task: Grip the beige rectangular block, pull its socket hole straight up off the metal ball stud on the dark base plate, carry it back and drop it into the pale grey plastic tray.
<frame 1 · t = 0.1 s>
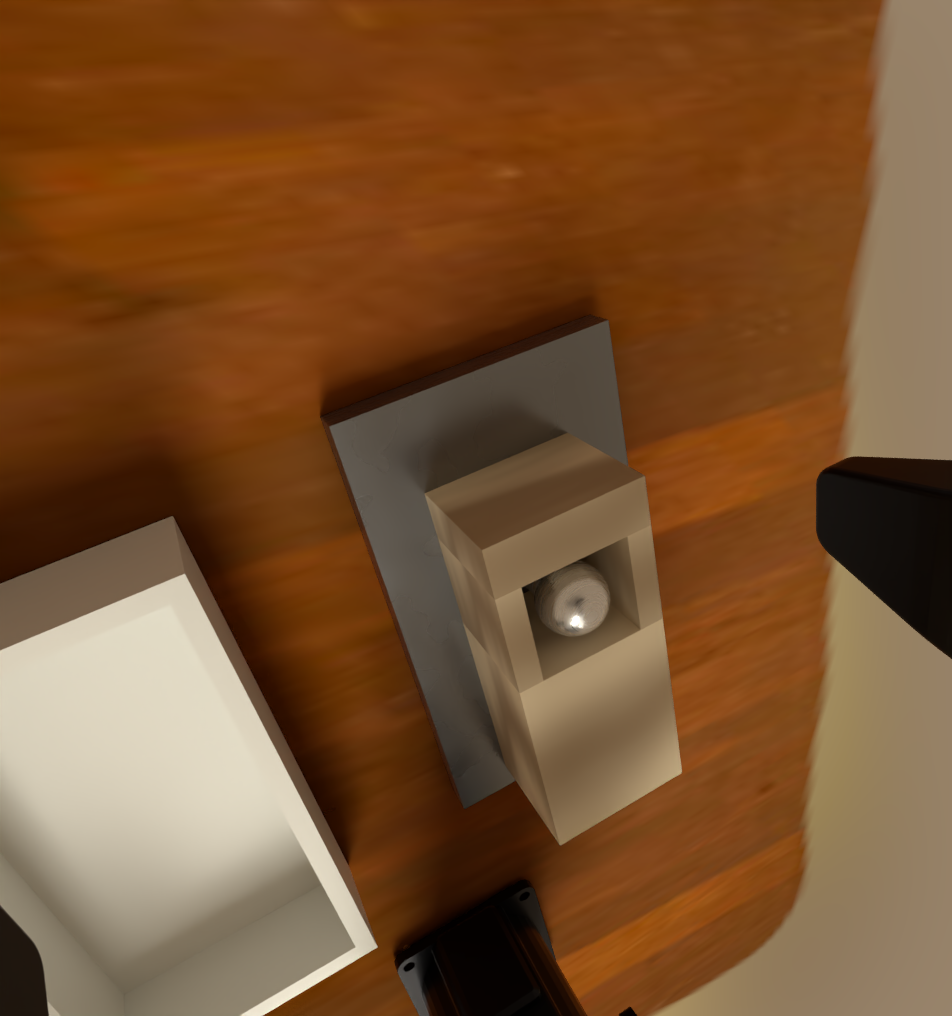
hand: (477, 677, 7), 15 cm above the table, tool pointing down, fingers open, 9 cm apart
stud base: (514, 577, 26), on the table
beige rectangular block: (533, 613, 26), point 1 cm above the table, touching stud base
tray: (139, 785, 23), on the table
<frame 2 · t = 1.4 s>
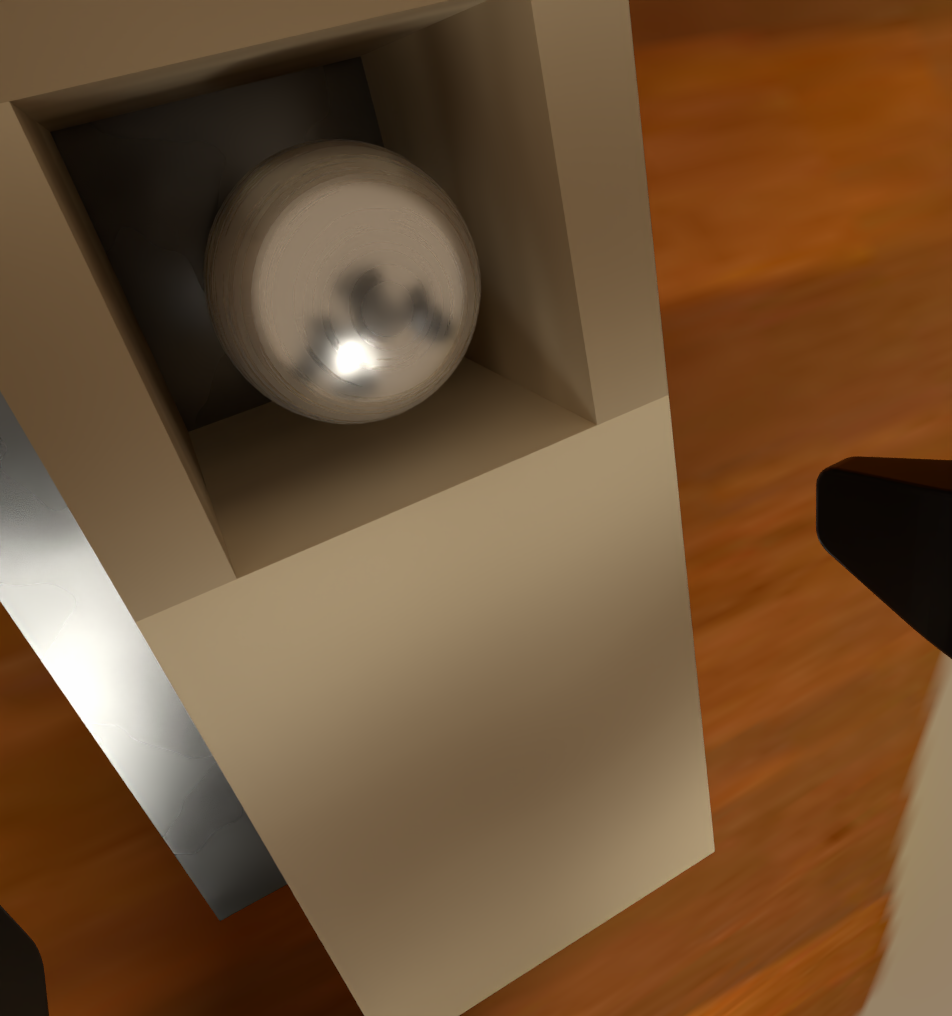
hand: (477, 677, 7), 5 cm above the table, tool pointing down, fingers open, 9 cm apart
stud base: (300, 367, 10), on the table
beige rectangular block: (341, 452, 10), point 1 cm above the table, touching stud base
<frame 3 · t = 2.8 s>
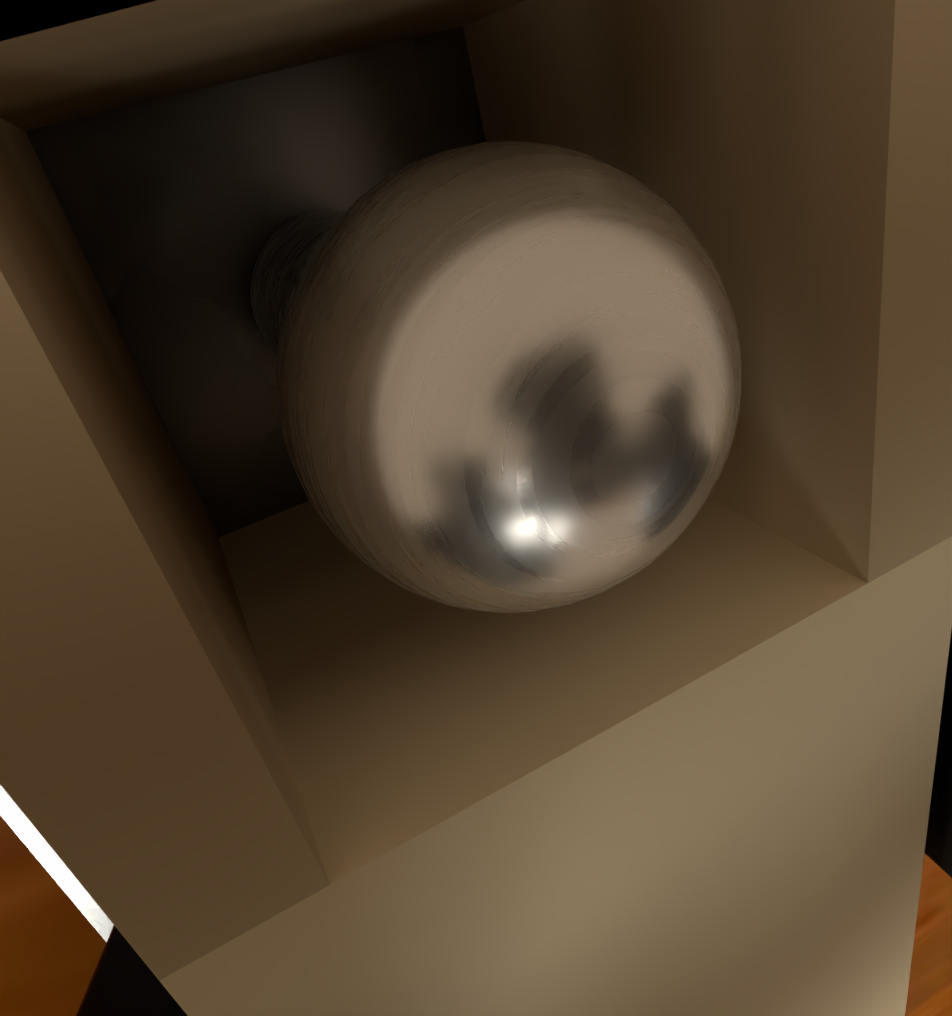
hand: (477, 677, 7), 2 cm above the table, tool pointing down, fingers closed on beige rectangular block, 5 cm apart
stud base: (359, 437, 8), on the table
beige rectangular block: (415, 551, 8), point 1 cm above the table, touching gripper, stud base
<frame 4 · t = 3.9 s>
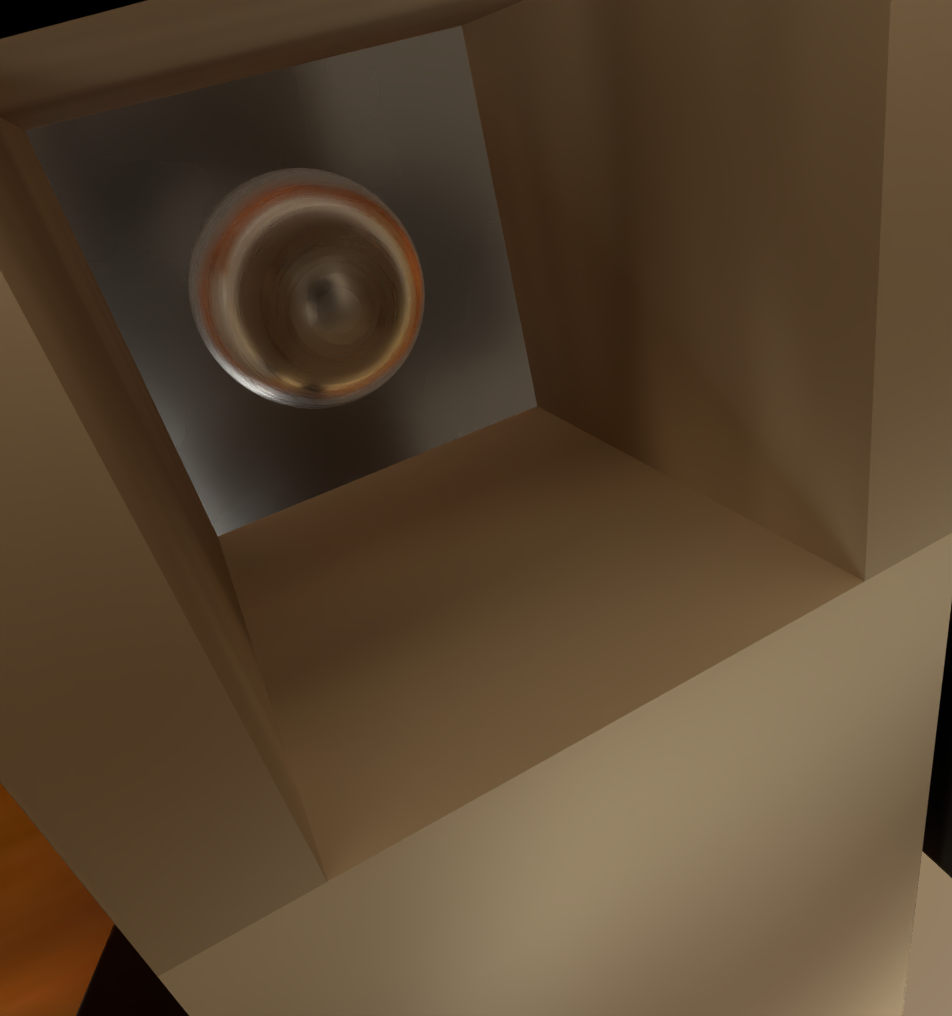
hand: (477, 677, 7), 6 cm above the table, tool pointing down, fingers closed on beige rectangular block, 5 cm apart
stud base: (282, 364, 12), on the table
beige rectangular block: (414, 550, 8), point 5 cm above the table, touching gripper
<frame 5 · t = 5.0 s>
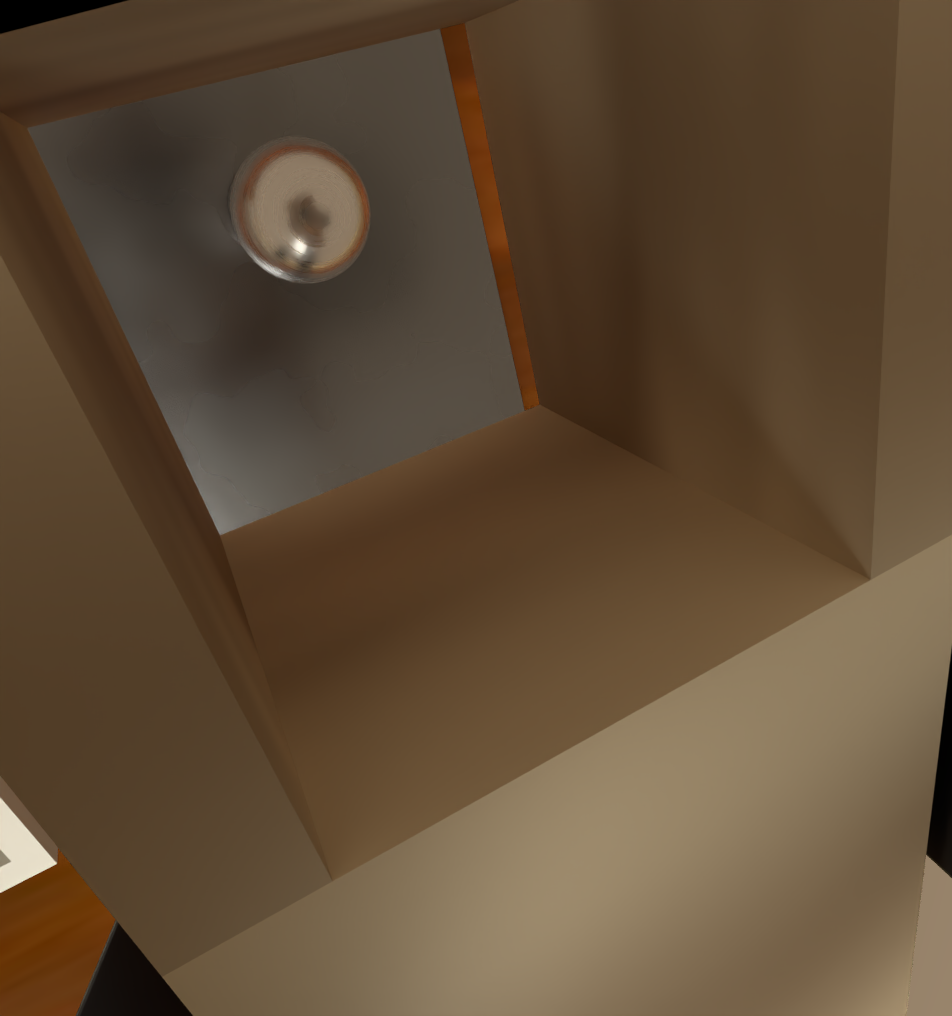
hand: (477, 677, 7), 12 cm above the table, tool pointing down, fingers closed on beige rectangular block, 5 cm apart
stud base: (284, 282, 16), on the table
beige rectangular block: (416, 549, 8), point 11 cm above the table, touching gripper
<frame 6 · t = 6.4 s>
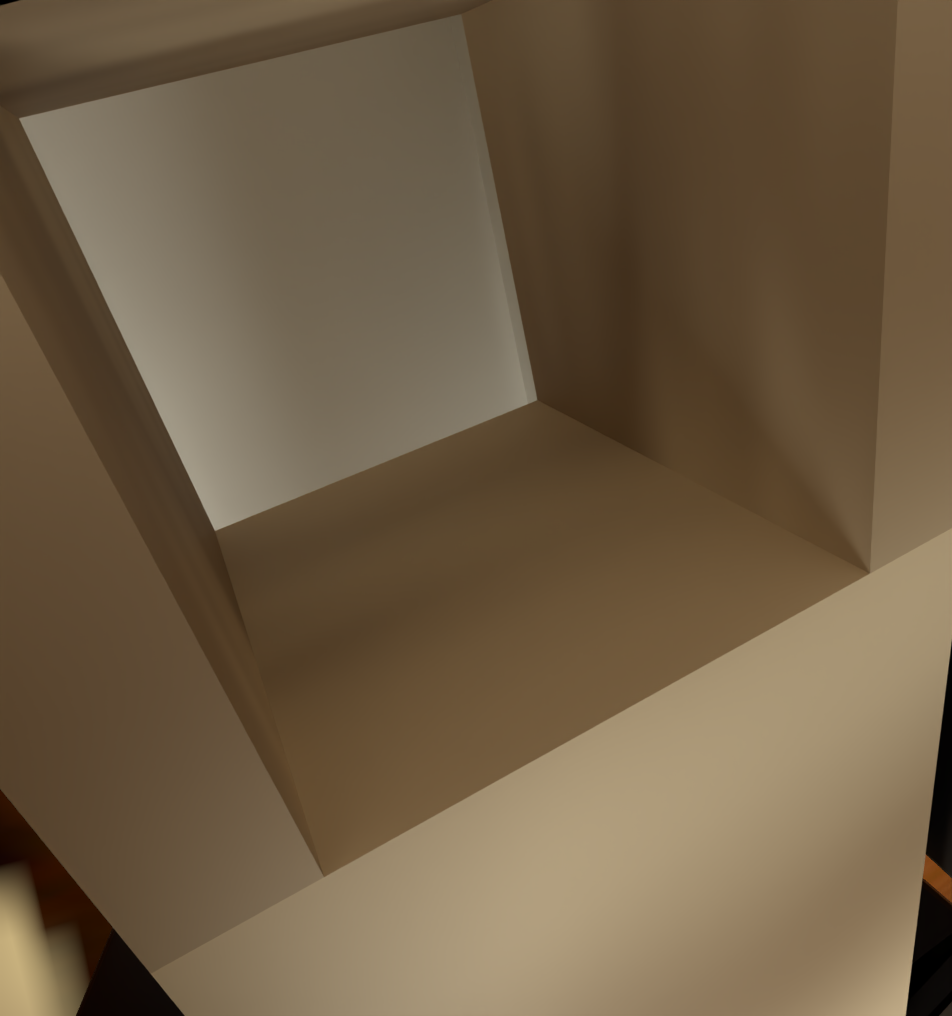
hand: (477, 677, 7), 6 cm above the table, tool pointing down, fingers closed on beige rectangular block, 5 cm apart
beige rectangular block: (413, 545, 8), point 5 cm above the table, touching gripper
tray: (297, 411, 12), on the table
when the fingers open (4 cm above the table, at t = 7.5 s): beige rectangular block drops 3 cm, resting on tray.
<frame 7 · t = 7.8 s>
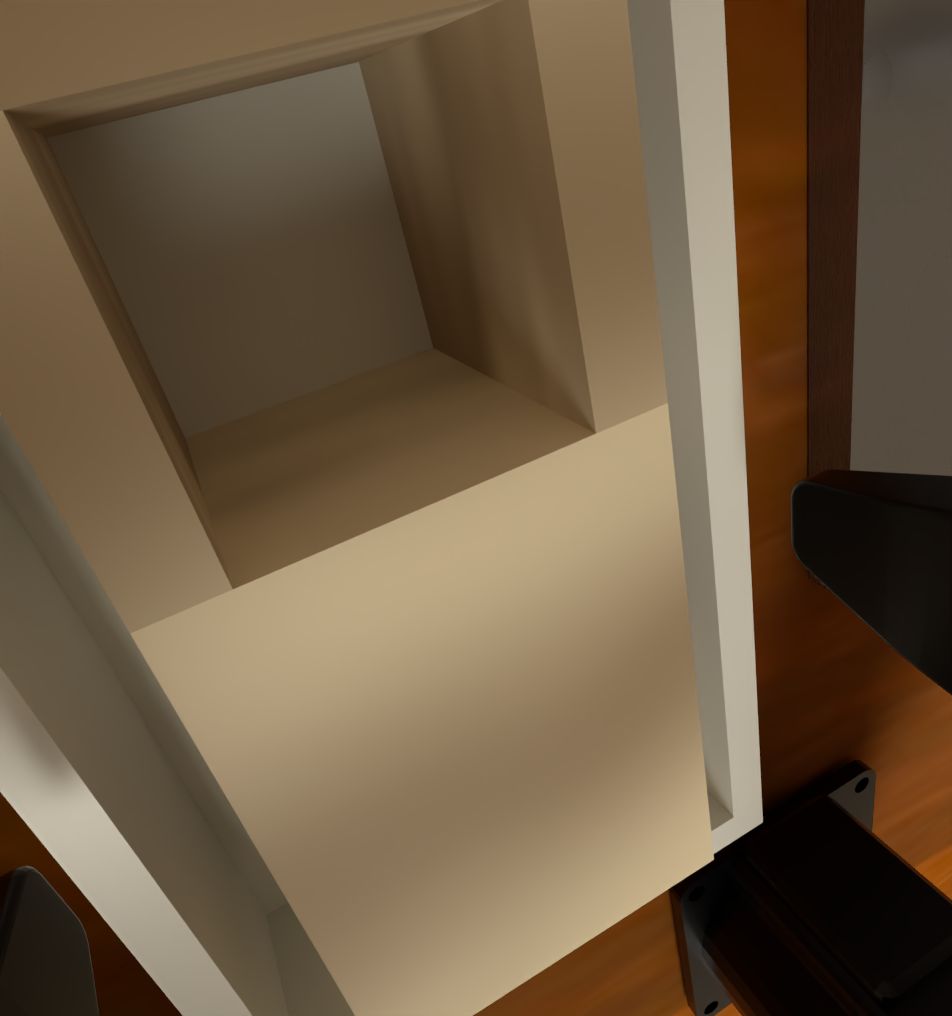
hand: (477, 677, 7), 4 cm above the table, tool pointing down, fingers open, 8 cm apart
beige rectangular block: (339, 458, 10), point 1 cm above the table, touching tray
tray: (328, 447, 11), on the table
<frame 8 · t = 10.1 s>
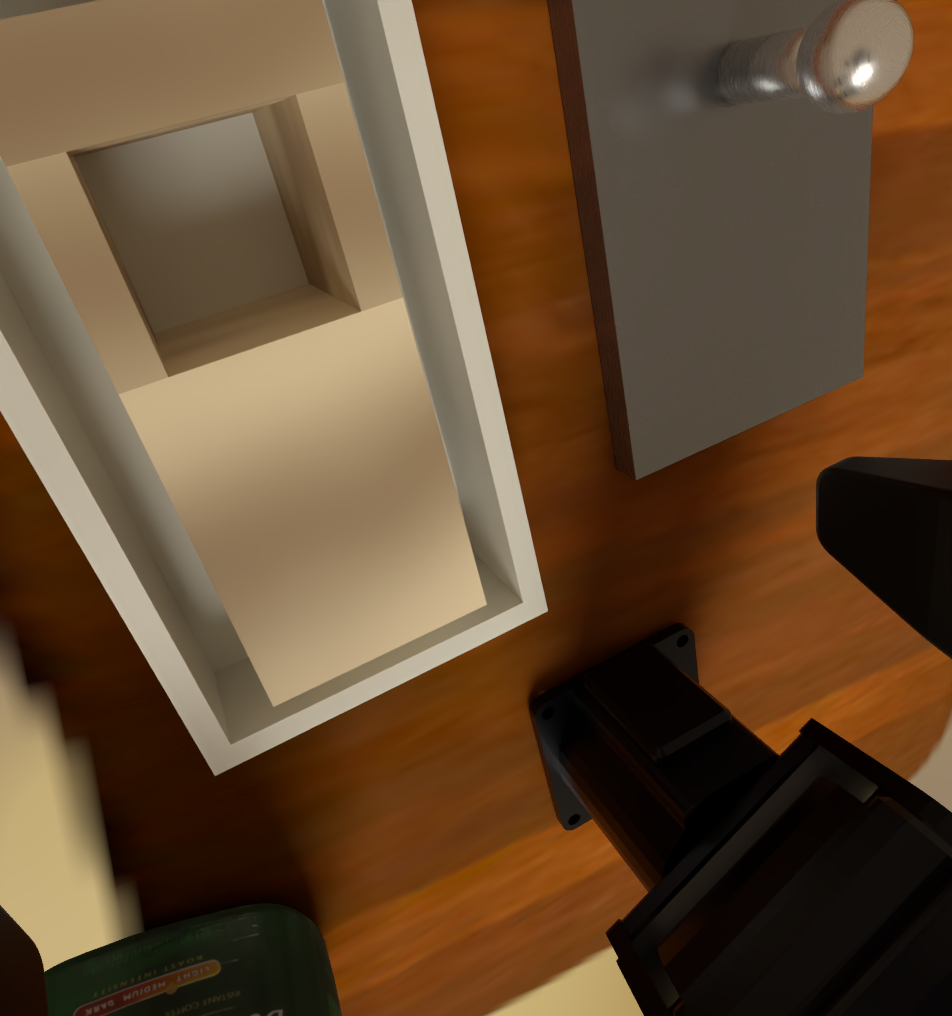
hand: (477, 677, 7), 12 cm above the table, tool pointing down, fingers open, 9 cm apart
stud base: (717, 148, 20), on the table
beige rectangular block: (251, 352, 16), point 1 cm above the table, touching tray
tray: (247, 348, 17), on the table
coffee jar: (166, 991, 23), on the table
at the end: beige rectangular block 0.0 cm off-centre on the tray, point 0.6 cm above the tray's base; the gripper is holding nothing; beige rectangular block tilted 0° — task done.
